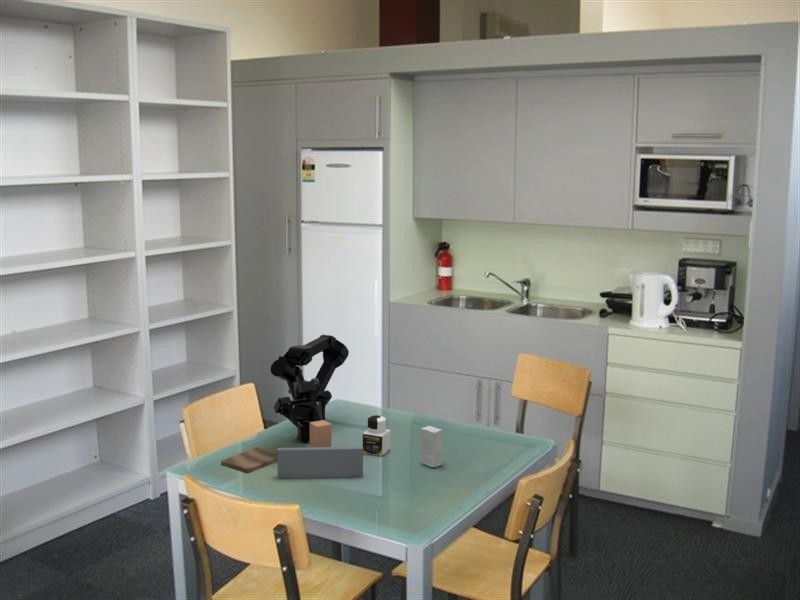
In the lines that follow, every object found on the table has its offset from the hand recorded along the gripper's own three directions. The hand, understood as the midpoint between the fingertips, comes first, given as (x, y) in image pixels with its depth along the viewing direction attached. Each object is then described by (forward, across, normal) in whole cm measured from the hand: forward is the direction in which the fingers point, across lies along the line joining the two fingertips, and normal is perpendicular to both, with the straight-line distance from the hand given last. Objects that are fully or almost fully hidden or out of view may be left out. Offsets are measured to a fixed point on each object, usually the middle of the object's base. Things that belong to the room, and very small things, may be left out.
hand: (311, 424), depth 271 cm
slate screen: (+17, -3, 0) cm, 17 cm away
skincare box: (+25, +32, -7) cm, 41 cm away
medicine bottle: (+11, +22, +6) cm, 26 cm away
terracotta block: (+13, 0, +4) cm, 13 cm away
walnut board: (+3, -17, +14) cm, 22 cm away
